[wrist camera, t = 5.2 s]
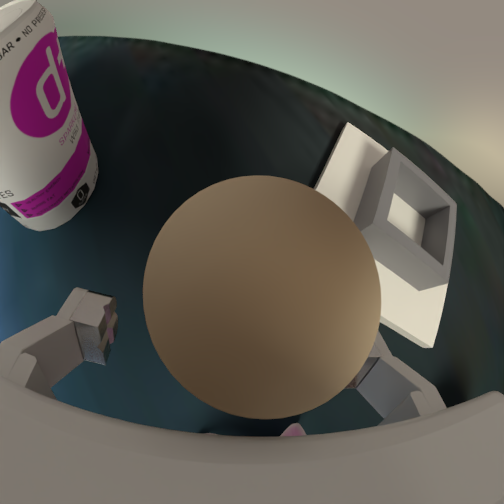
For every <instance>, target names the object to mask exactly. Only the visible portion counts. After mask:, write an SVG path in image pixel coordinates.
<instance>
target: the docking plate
mask: <svg viewBox="0 0 504 504" xmlns="http://www.w3.org/2000/svg"><path fill="white" fill-rule="evenodd" d="M314 190H316V191H318V192H319V193H321V194H323V195H324V196H326V197H327V198H329V199H330V200H331V201H333V202H334V203H335V204H336V205H338V206H339V207H340V208H341V209H342V210H343V211H344V212H345V213H346V214H347V215H348V216H349V217H350V219H351V220H352V221H353V222H354V223H355V225H356V226H357V227H358V229H359V230H360V232H361V233H362V235H363V236H364V238H365V240H366V242H367V244H368V246H369V248H370V250H371V253H372V255H373V258H374V260H375V263H376V267H377V271H378V274H379V280H380V287H381V316H380V322H381V323H383V324H384V325H386V326H388V327H389V328H391V329H393V330H394V331H396V332H398V333H399V334H401V335H403V336H404V337H406V338H408V339H409V340H411V341H413V342H414V343H416V344H418V345H419V346H421V347H422V348H433V345H434V341H435V338H436V334H437V330H438V326H439V322H440V318H441V314H442V310H443V305H444V301H445V296H446V291H447V285H448V282H449V276H450V269H451V262H452V255H453V247H454V237H455V225H456V209H457V204H456V203H455V202H454V201H453V200H452V199H451V198H450V197H449V196H448V195H447V194H446V193H445V192H444V191H443V190H442V189H441V188H440V187H439V186H438V185H437V184H436V183H435V182H434V181H433V180H431V179H430V178H429V177H428V176H427V175H426V174H425V173H424V172H423V171H421V170H420V169H419V168H418V167H417V166H416V165H414V164H413V163H412V162H411V161H410V160H409V159H407V158H406V157H405V156H404V155H402V154H401V153H400V152H399V151H397V150H396V149H395V148H394V147H393V148H392V149H390V150H389V151H388V150H386V149H385V148H384V147H382V146H381V145H380V144H378V143H377V142H376V141H374V140H373V139H371V138H370V137H369V136H367V135H366V134H364V133H363V132H362V131H360V130H359V129H357V128H356V127H354V126H353V125H351V124H350V123H348V122H347V124H346V125H345V126H344V128H343V129H342V131H341V133H340V135H339V137H338V139H337V142H336V144H335V146H334V148H333V150H332V152H331V154H330V156H329V158H328V160H327V162H326V165H325V167H324V169H323V171H322V173H321V175H320V177H319V179H318V181H317V183H316V185H315V187H314Z"/></svg>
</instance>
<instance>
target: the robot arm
mask: <svg viewBox="0 0 504 504" xmlns="http://www.w3.org/2000/svg"><path fill="white" fill-rule="evenodd" d="M116 307H117V303H116V298H115V297H114V296H111V295H106V294H102V293H98V292H94V291H91V290H86V289H82V288H78V287H76V288H74V289H73V291H72V292H71V294H70V295H69V297H68V298H67V300H66V301H65V303H64V304H63V306H62V308H61V309H60V311H59V312H58V314H57V315H56V316H53V315H52V316H50V317H48V318H46V319H44V320H42V321H40V322H38V323H37V324H35V325H33V326H31V327H29V328H27V329H25V330H23V331H21V332H19V333H17V334H15V335H13V336H11V337H10V338H8V339H6V340H4V341H2V342H1V344H0V504H504V395H503V394H501V393H499V392H498V391H491V392H488V393H486V394H484V395H481V396H479V397H476V398H474V399H471V400H469V401H466V402H463V403H461V404H458V405H455V406H452V407H449V408H447V407H446V405H445V404H444V402H443V400H442V398H441V396H440V394H439V392H438V391H437V389H436V387H435V386H434V385H432V384H431V383H430V382H428V381H427V380H426V379H424V378H423V377H422V376H420V375H419V374H418V373H417V372H415V371H414V370H413V369H411V368H410V367H409V366H407V365H406V364H405V363H403V362H402V361H401V360H399V359H398V358H397V357H393V356H392V354H391V352H390V351H389V349H388V347H387V345H386V344H385V342H384V340H383V338H382V336H381V335H380V333H379V331H378V332H377V335H376V338H375V341H374V344H373V347H372V349H371V351H370V353H369V356H368V358H367V359H366V361H365V363H364V364H363V366H362V368H361V369H360V371H359V372H358V373H357V374H356V376H355V377H354V378H353V379H352V381H351V382H350V383H349V384H348V385H347V386H346V387H345V388H356V389H357V390H358V391H359V392H360V393H361V395H362V396H363V397H364V398H365V399H366V400H367V401H368V402H369V403H370V404H371V405H372V406H373V407H374V408H375V409H376V410H377V412H378V413H379V414H380V415H381V416H382V417H383V418H384V420H383V421H382V422H381V423H380V424H379V425H378V426H375V427H370V428H364V429H358V430H351V431H344V432H336V433H327V434H316V435H302V436H279V437H248V436H225V435H211V434H201V433H191V432H183V431H176V430H169V429H163V428H157V427H152V426H146V425H141V424H136V423H132V422H127V421H123V420H119V419H115V418H111V417H107V416H103V415H100V414H96V413H93V412H90V411H86V410H83V409H80V408H77V407H74V406H71V405H68V404H65V403H62V402H60V401H57V399H56V397H55V396H54V394H53V392H52V390H51V387H52V386H53V385H55V384H56V383H57V382H58V381H59V380H61V379H62V378H63V377H64V376H66V375H67V374H68V373H69V372H70V371H72V370H73V369H74V368H75V367H77V366H78V365H79V364H80V363H81V362H83V360H87V361H91V362H95V363H99V364H104V365H106V362H107V360H108V357H109V354H110V351H111V349H110V344H111V343H112V342H114V340H115V337H116V334H117V329H118V316H117V314H116V313H115V312H114V311H115V309H116Z"/></svg>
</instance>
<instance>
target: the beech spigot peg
mask: <svg viewBox="0 0 504 504" xmlns="http://www.w3.org/2000/svg"><path fill="white" fill-rule="evenodd" d="M143 307H144V313H145V319H146V324H147V328H148V331H149V334H150V336H151V339H152V342H153V344H154V346H155V348H156V350H157V352H158V354H159V356H160V358H161V360H162V361H163V363H164V364H165V366H166V367H167V368H168V370H169V371H170V373H171V374H172V375H173V376H174V377H175V378H176V379H177V380H178V382H179V383H180V384H181V385H182V386H183V387H184V388H185V389H187V390H188V391H189V392H191V393H192V394H193V395H194V396H196V397H197V398H198V399H200V400H202V401H203V402H205V403H207V404H209V405H210V406H212V407H214V408H216V409H219V410H222V411H224V412H227V413H229V414H233V415H237V416H241V417H246V418H254V419H277V418H285V417H290V416H294V415H298V414H301V413H304V412H307V411H309V410H312V409H314V408H316V407H318V406H320V405H322V404H323V403H325V402H327V401H328V400H330V399H331V398H333V397H334V396H335V395H337V394H338V393H339V392H340V391H341V390H343V389H344V388H345V387H346V386H347V385H348V384H349V383H350V382H351V381H352V379H353V378H354V377H355V376H356V374H357V373H358V372H359V371H360V369H361V368H362V366H363V364H364V363H365V361H366V359H367V358H368V356H369V353H370V351H371V349H372V347H373V344H374V341H375V338H376V335H377V332H378V327H379V322H380V316H381V287H380V280H379V274H378V271H377V267H376V263H375V260H374V258H373V255H372V253H371V250H370V248H369V246H368V244H367V242H366V240H365V238H364V236H363V235H362V233H361V232H360V230H359V229H358V227H357V226H356V225H355V223H354V222H353V221H352V220H351V219H350V217H349V216H348V215H347V214H346V213H345V212H344V211H343V210H342V209H341V208H340V207H339V206H338V205H336V204H335V203H334V202H333V201H331V200H330V199H329V198H327V197H326V196H324V195H323V194H321V193H319V192H318V191H316V190H314V189H312V188H310V187H308V186H306V185H303V184H301V183H299V182H295V181H292V180H289V179H285V178H280V177H274V176H259V175H254V176H242V177H237V178H232V179H228V180H225V181H222V182H219V183H216V184H213V185H211V186H209V187H207V188H205V189H203V190H201V191H200V192H198V193H197V194H195V195H194V196H192V197H191V198H189V199H188V200H187V201H185V202H184V203H183V204H182V205H181V206H180V207H179V208H178V209H177V210H176V211H175V212H174V213H173V214H172V215H171V217H170V218H169V219H168V220H167V222H166V223H165V224H164V226H163V227H162V229H161V231H160V232H159V234H158V236H157V237H156V239H155V242H154V244H153V246H152V249H151V251H150V254H149V257H148V261H147V265H146V269H145V274H144V283H143Z"/></svg>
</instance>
